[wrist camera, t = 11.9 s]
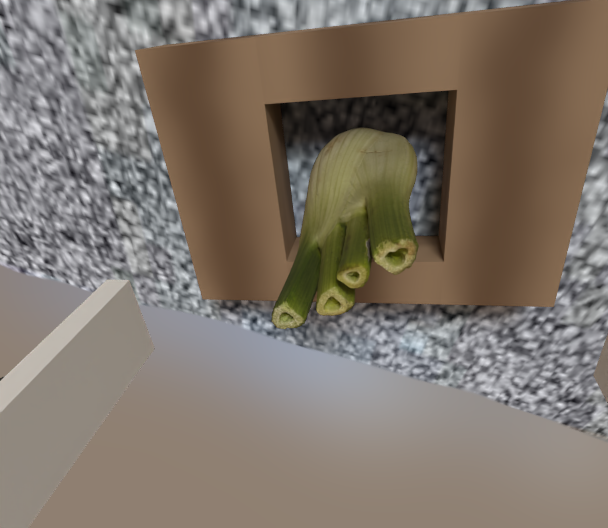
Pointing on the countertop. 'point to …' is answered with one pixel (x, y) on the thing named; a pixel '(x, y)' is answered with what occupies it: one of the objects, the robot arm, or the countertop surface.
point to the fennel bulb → (351, 223)
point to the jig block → (387, 81)
